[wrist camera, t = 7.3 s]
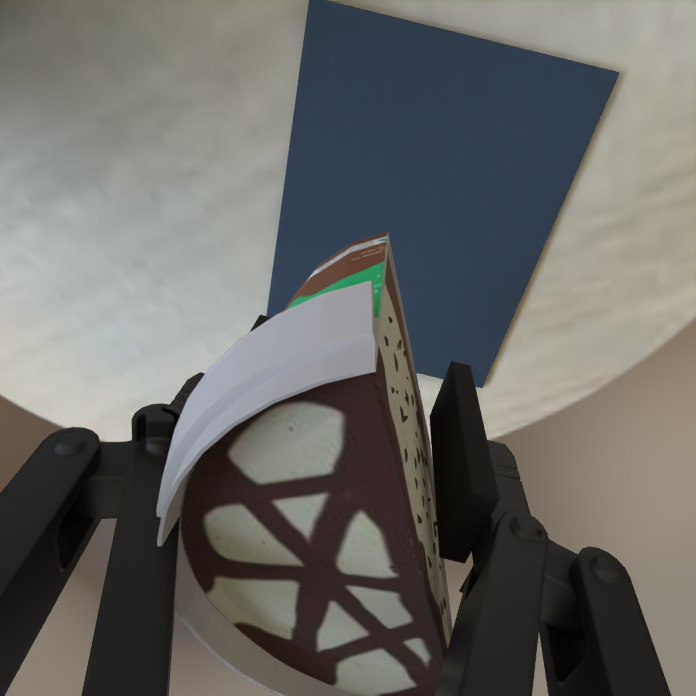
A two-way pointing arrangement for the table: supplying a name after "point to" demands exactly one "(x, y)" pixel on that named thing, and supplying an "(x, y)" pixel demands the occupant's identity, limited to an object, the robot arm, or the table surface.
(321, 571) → the food container
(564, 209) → the table surface
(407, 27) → the mat
